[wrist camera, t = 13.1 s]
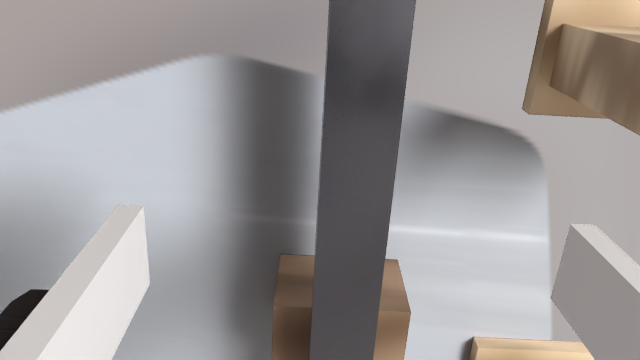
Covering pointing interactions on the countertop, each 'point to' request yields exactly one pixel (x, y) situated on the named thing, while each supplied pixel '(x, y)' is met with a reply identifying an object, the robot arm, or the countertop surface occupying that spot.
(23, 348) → the robot arm
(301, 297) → the block
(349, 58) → the rail
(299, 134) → the countertop surface
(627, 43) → the hook stand
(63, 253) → the countertop surface
